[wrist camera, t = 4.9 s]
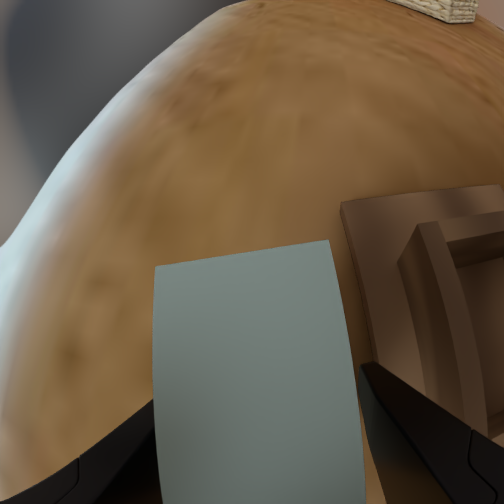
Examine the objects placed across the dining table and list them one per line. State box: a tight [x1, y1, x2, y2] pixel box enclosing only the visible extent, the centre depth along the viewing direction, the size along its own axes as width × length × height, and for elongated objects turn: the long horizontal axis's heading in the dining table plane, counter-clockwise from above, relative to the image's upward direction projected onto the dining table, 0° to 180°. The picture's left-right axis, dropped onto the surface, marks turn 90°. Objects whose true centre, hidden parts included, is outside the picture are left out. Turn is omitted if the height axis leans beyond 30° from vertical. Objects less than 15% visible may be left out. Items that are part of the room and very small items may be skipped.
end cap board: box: [340, 184, 504, 448], centre depth 10 cm, size 12×18×4 cm, turn 5°
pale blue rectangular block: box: [152, 240, 366, 504], centre depth 8 cm, size 3×5×10 cm, turn 5°
